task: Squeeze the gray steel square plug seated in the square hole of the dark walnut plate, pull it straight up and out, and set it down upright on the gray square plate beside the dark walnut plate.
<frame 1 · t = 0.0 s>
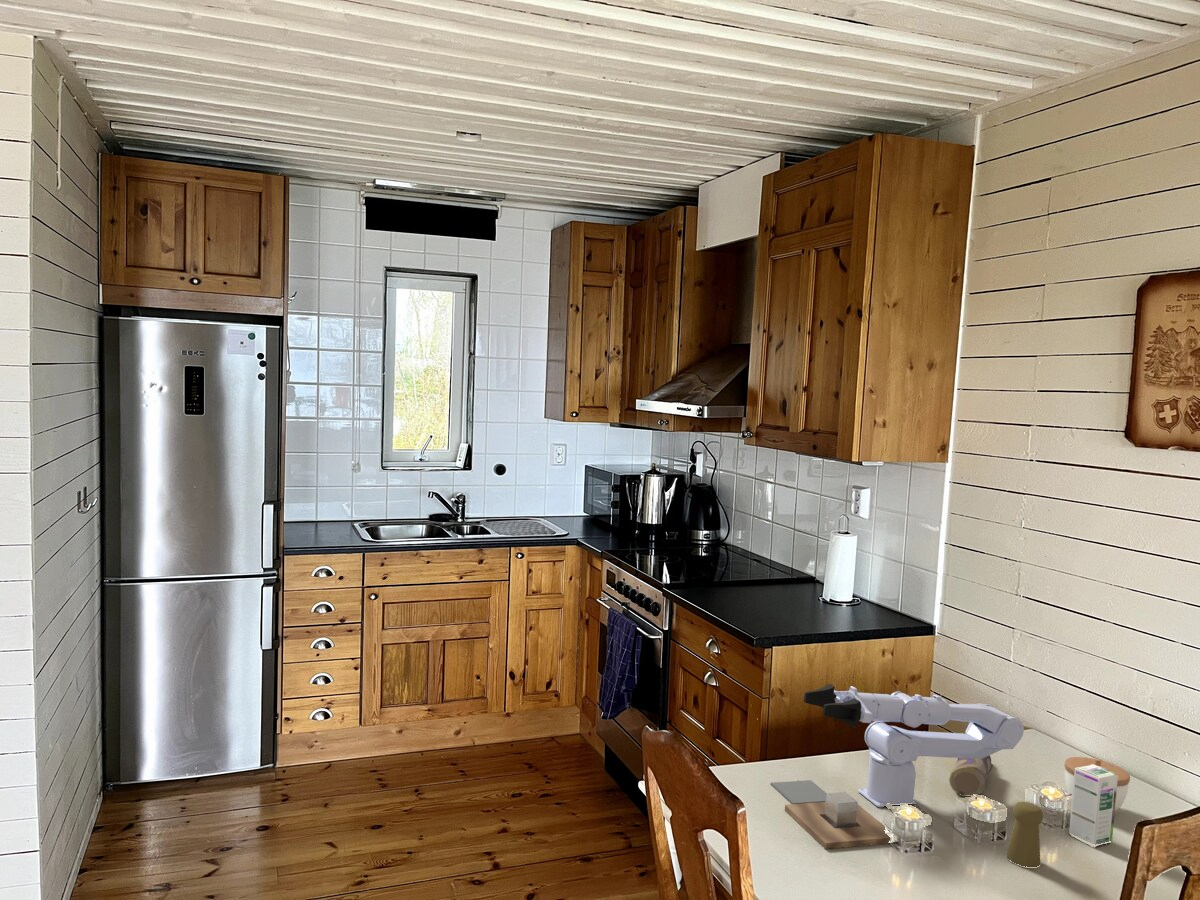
hand: (814, 703, 189), 22 cm above the table, tool horizontal, fingers open, 7 cm apart
steel plug: (840, 812, 181), in the walnut hole plate
lidded bowl: (1092, 809, 199), on the table
walnut hole plate: (839, 826, 181), on the table
olive pawn figure: (1023, 861, 173), on the table
syrup box: (1089, 840, 183), on the table
gray square plate: (802, 793, 196), on the table
decorative bottle: (975, 781, 210), on the table
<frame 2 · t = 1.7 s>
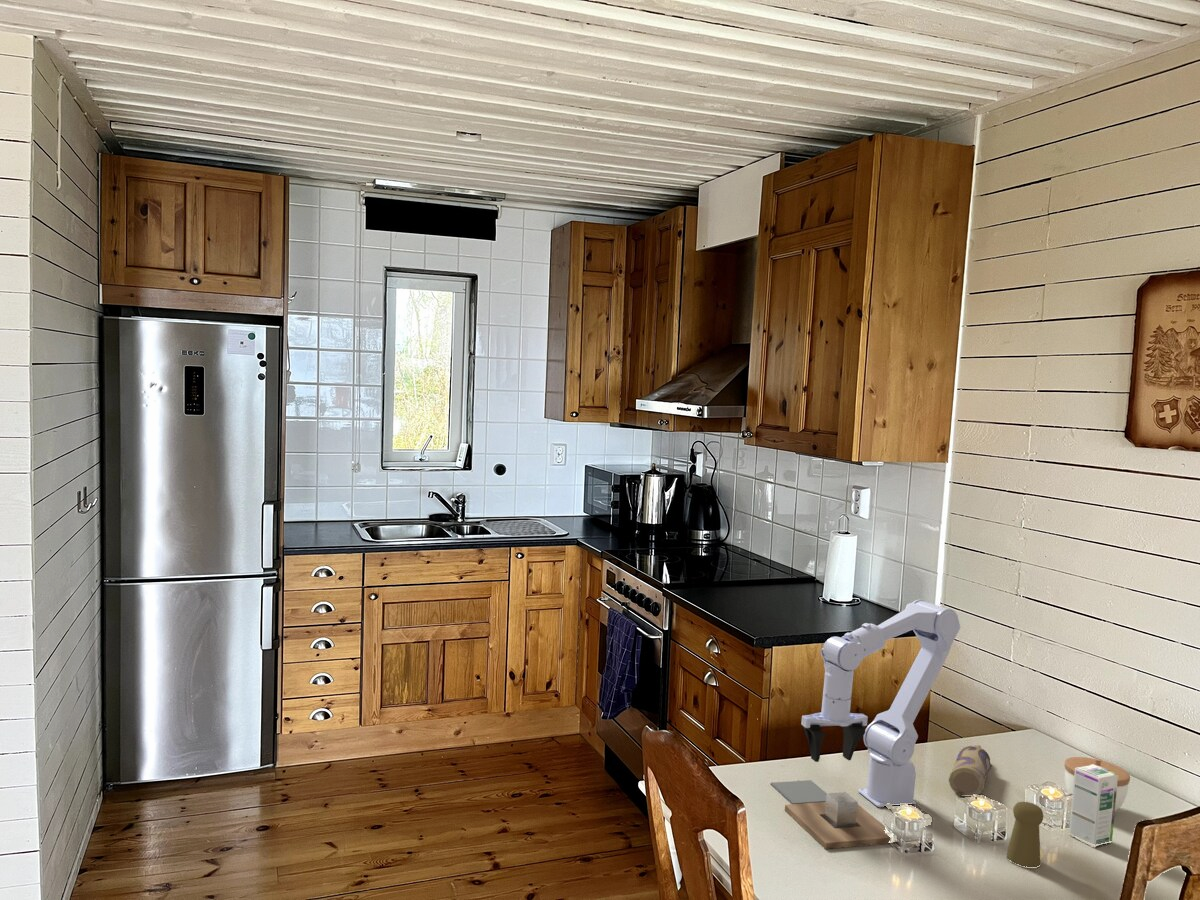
hand: (830, 759, 189), 10 cm above the table, tool pointing down, fingers open, 7 cm apart
nothing on the table moved.
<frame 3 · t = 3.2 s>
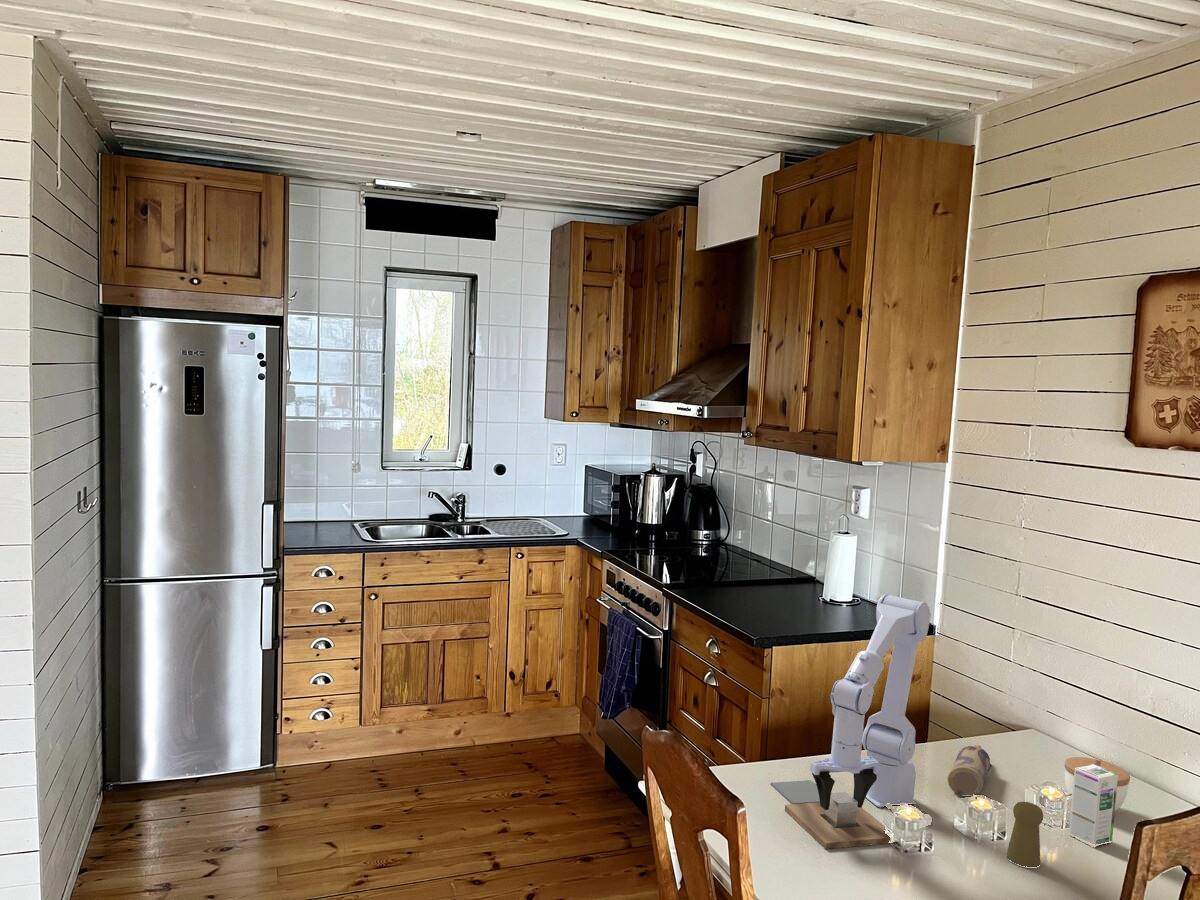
hand: (841, 806, 181), 4 cm above the table, tool pointing down, fingers open, 7 cm apart
nothing on the table moved.
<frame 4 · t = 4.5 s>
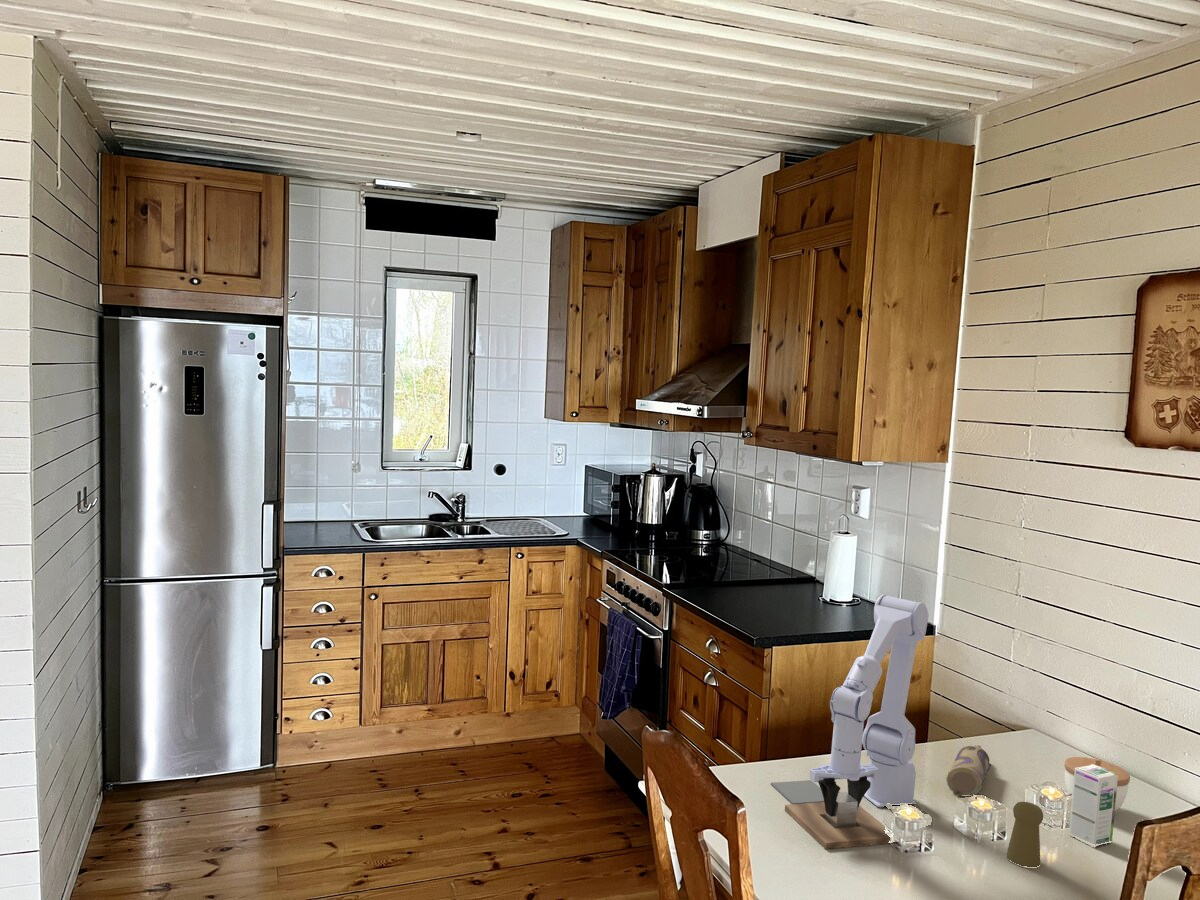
hand: (840, 813, 181), 3 cm above the table, tool pointing down, fingers closed on steel plug, 4 cm apart
steel plug: (840, 811, 181), in the walnut hole plate, touching gripper
everything else where it was.
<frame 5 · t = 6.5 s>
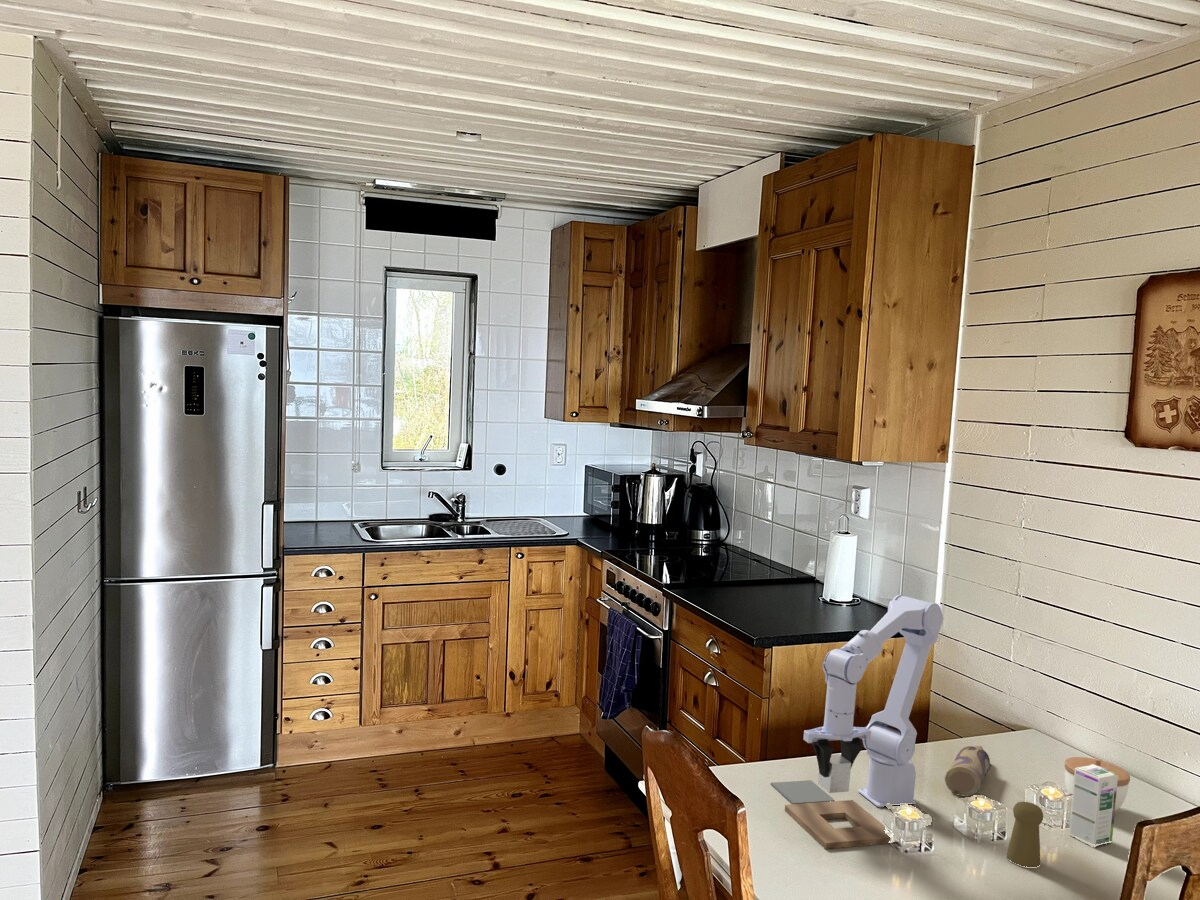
hand: (833, 774, 184), 9 cm above the table, tool pointing down, fingers closed on steel plug, 4 cm apart
steel plug: (834, 773, 184), point 9 cm above the table, touching gripper
everything else where it was.
when the fingers open (4 cm above the table, at t = 8.7 s): steel plug drops 1 cm, resting on gray square plate.
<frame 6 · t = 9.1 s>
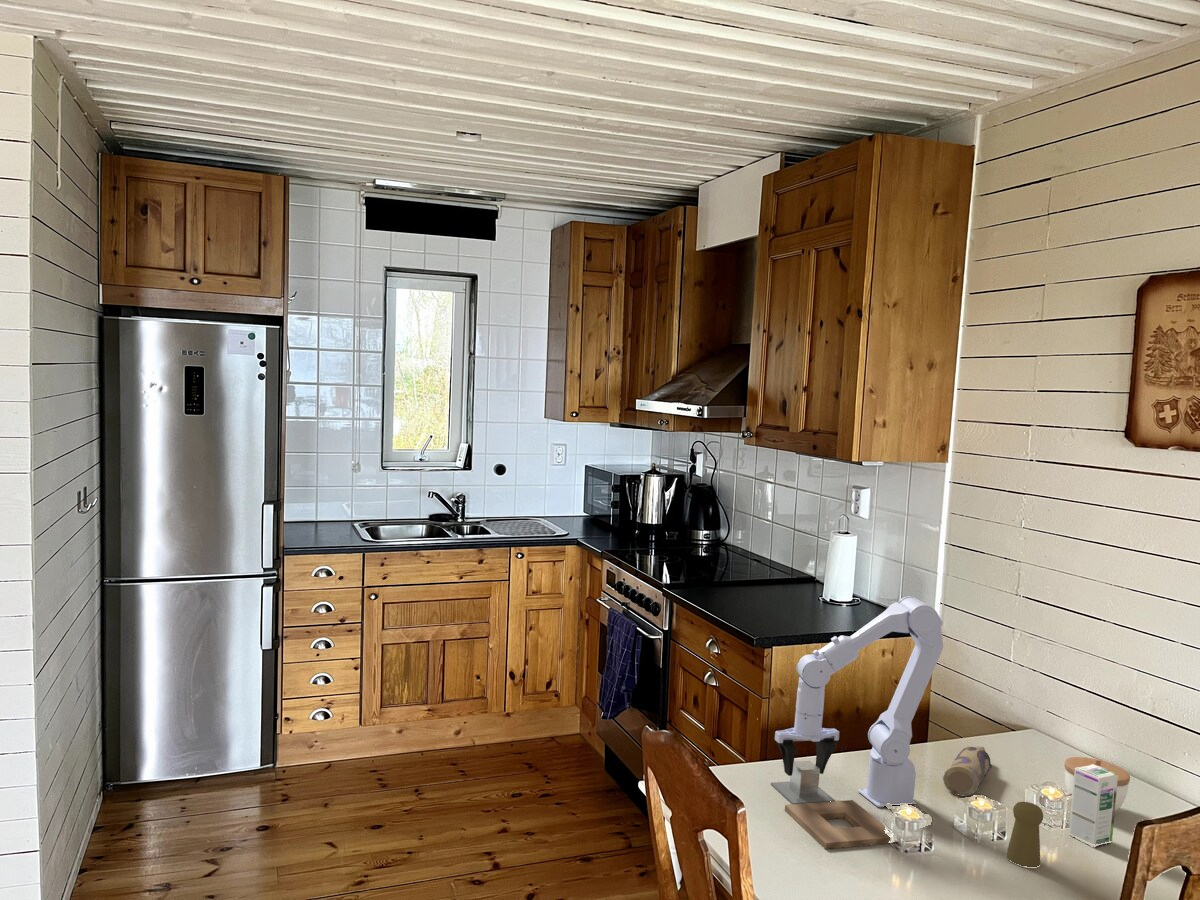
hand: (803, 772, 195), 4 cm above the table, tool pointing down, fingers open, 7 cm apart
steel plug: (804, 778, 195), on the gray square plate
everything else where it was.
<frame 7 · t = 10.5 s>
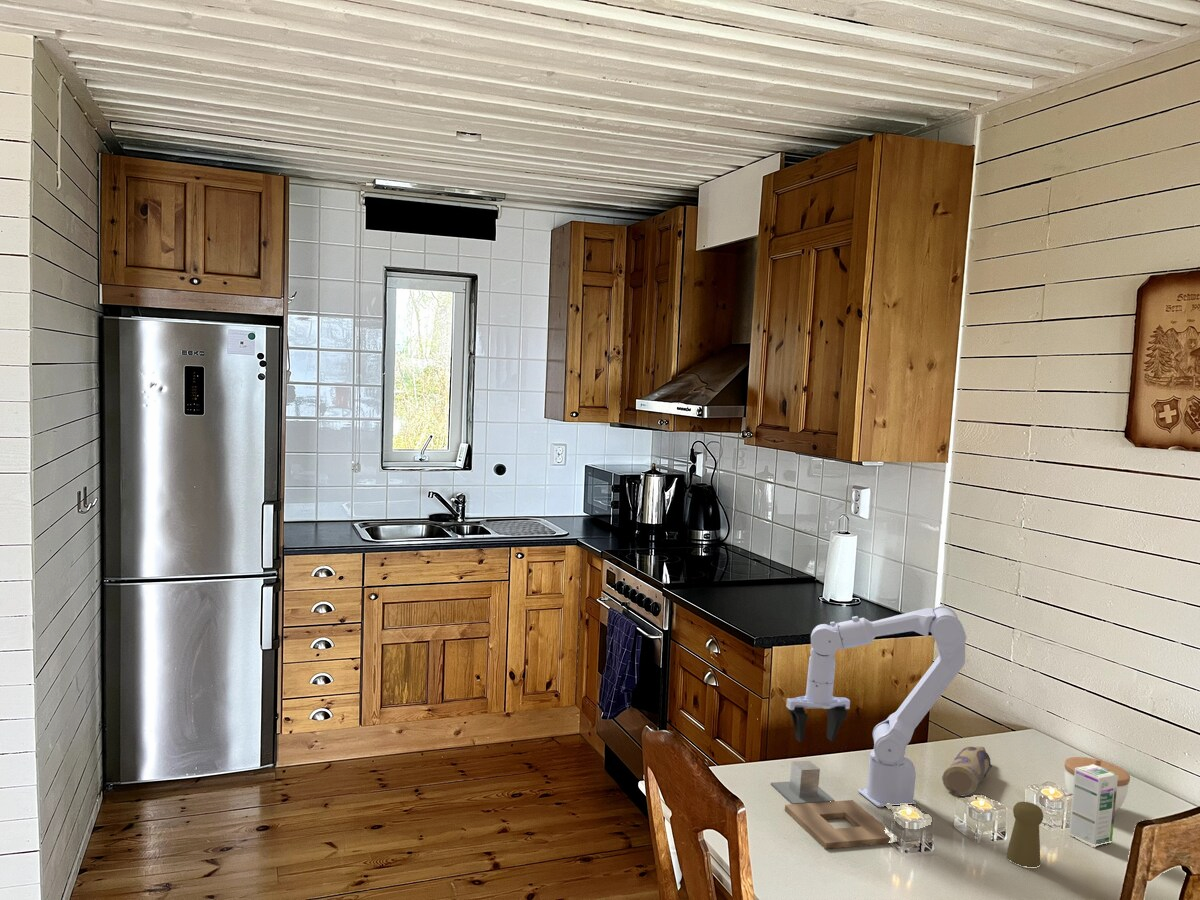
hand: (814, 740, 199), 10 cm above the table, tool pointing down, fingers open, 7 cm apart
nothing on the table moved.
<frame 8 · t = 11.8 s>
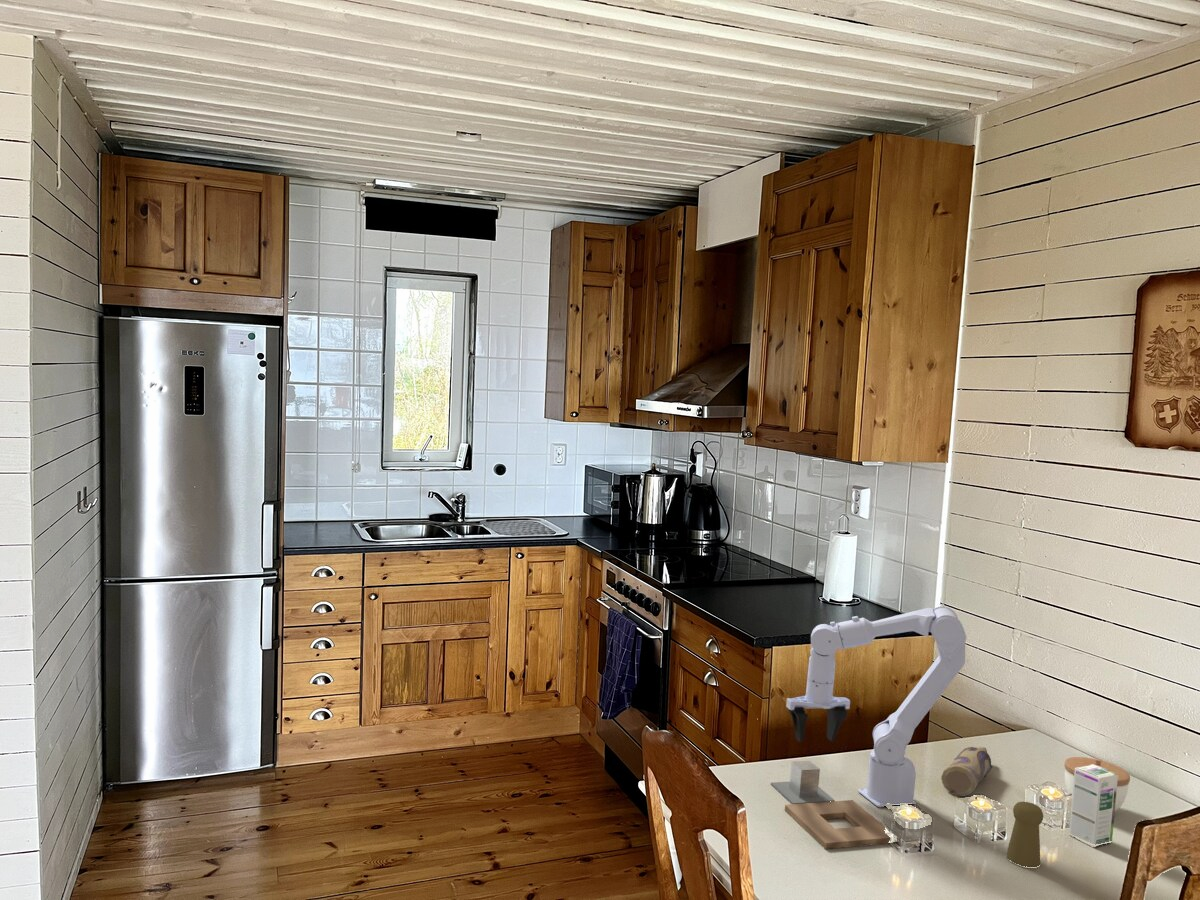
hand: (814, 740, 199), 10 cm above the table, tool pointing down, fingers open, 7 cm apart
nothing on the table moved.
at the end: steel plug inside the target area on the gray square plate (0.5 cm from its centre), point 3.4 cm above the gray square plate's base; steel plug tilted 0°; the gripper is holding nothing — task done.
